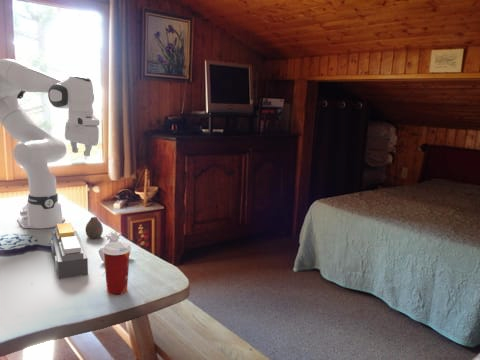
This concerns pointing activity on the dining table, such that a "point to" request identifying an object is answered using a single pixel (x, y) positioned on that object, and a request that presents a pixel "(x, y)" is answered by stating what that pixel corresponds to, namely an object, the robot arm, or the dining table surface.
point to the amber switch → (65, 230)
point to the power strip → (70, 265)
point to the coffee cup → (116, 267)
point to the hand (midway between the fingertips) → (80, 154)
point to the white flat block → (70, 244)
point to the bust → (113, 238)
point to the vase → (94, 228)
